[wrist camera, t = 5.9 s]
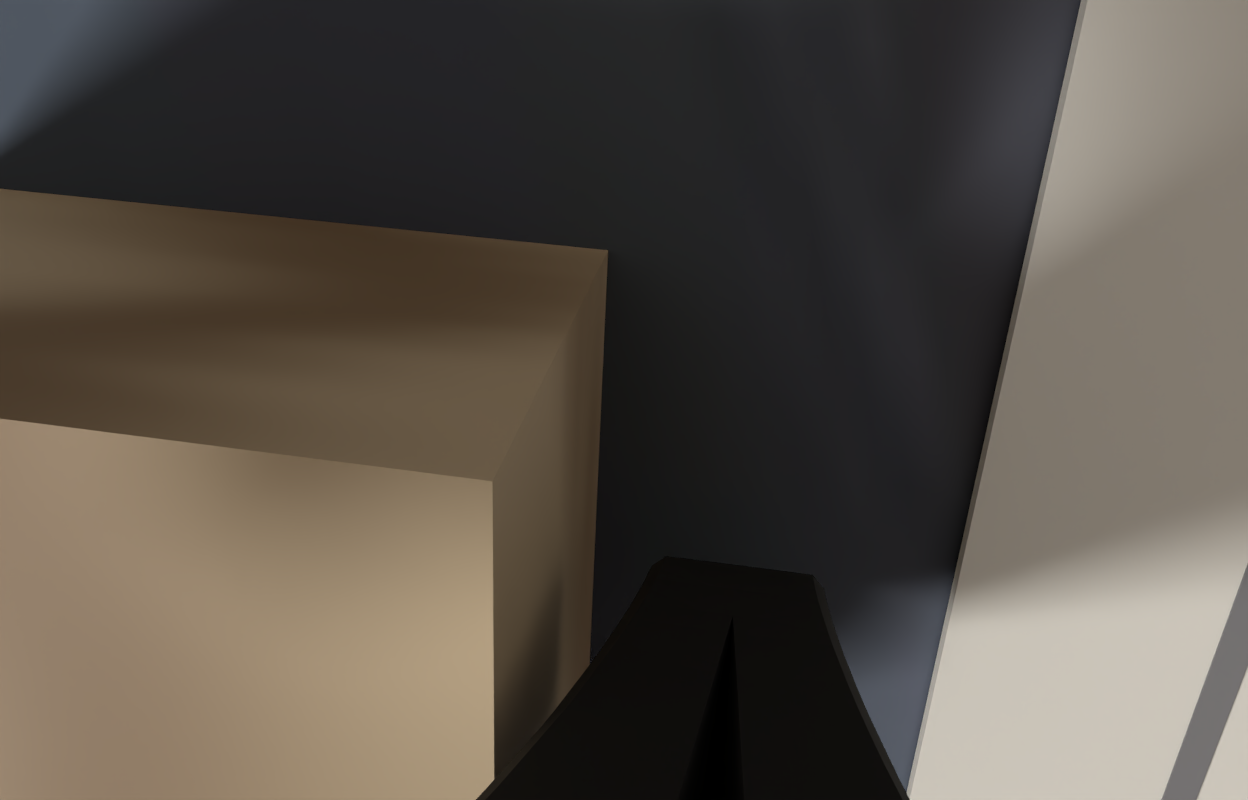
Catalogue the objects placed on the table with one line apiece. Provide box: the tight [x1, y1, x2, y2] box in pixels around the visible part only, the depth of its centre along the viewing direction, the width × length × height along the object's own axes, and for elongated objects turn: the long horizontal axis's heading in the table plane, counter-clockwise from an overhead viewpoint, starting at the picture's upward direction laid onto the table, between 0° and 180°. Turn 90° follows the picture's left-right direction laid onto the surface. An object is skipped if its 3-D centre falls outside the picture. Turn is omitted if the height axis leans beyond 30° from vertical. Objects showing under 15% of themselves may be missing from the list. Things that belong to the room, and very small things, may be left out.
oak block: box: [0, 189, 608, 800], centre depth 10 cm, size 6×6×4 cm
